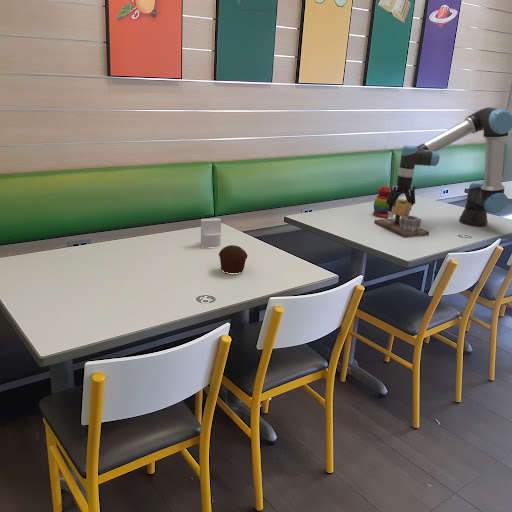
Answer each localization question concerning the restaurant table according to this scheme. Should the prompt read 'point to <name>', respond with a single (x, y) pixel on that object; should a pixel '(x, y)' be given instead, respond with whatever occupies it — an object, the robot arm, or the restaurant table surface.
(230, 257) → the muffin
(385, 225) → the gear board
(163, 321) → the restaurant table surface
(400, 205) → the ochre gear
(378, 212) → the stacking bear
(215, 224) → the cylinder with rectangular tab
